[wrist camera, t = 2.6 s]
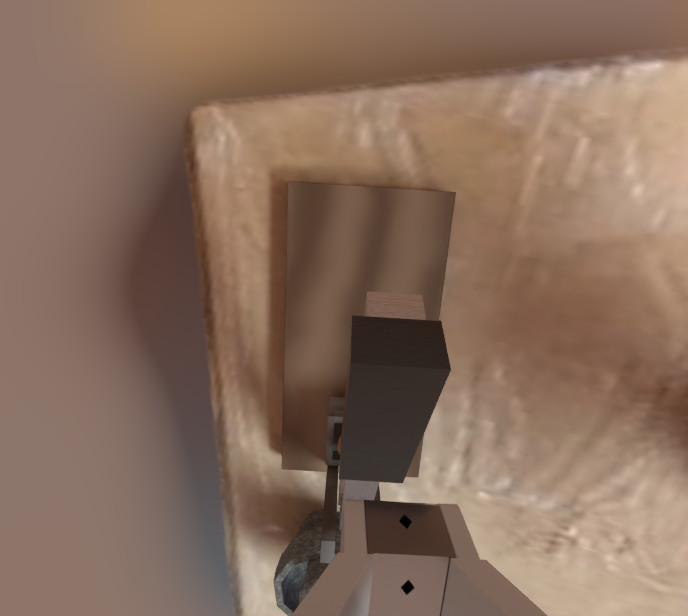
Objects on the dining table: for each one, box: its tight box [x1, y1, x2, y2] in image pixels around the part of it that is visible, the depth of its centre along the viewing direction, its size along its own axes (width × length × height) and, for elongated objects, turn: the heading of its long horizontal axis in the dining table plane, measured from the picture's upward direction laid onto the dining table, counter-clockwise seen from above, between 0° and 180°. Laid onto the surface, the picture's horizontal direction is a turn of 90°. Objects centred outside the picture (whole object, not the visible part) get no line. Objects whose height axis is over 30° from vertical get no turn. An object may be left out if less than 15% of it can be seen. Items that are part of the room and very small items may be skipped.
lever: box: [339, 292, 451, 530], centre depth 21 cm, size 3×24×4 cm, turn 177°
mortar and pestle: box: [274, 510, 341, 616], centre depth 36 cm, size 11×9×12 cm
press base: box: [282, 182, 456, 563], centre depth 30 cm, size 14×28×13 cm, turn 176°
